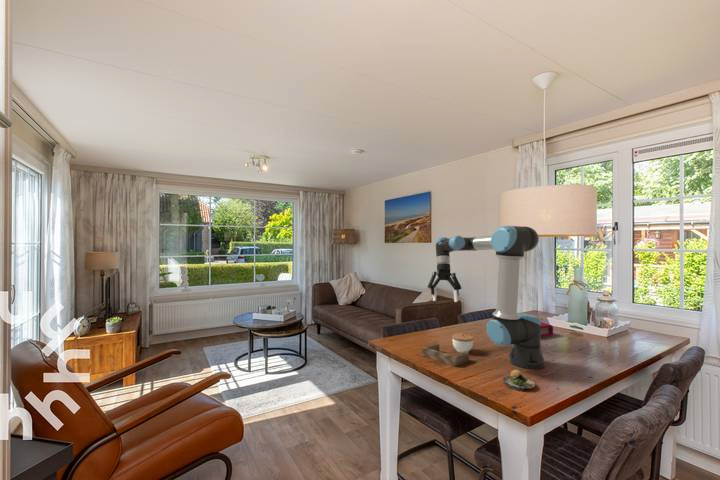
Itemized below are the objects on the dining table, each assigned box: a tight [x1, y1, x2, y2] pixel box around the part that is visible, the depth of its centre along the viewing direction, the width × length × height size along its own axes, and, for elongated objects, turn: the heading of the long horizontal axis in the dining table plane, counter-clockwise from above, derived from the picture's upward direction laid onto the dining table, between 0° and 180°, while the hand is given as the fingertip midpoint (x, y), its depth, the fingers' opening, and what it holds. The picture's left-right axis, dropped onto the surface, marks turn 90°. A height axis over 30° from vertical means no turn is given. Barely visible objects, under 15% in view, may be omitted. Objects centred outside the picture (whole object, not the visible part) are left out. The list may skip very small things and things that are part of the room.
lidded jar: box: [451, 332, 475, 354], centre depth 172 cm, size 11×11×9 cm
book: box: [540, 321, 554, 338], centre depth 211 cm, size 21×28×8 cm
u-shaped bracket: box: [421, 342, 470, 367], centre depth 162 cm, size 19×12×4 cm, turn 41°
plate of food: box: [502, 366, 536, 392], centre depth 132 cm, size 12×12×8 cm
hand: (445, 301), depth 184 cm, fingers open, 13 cm apart
